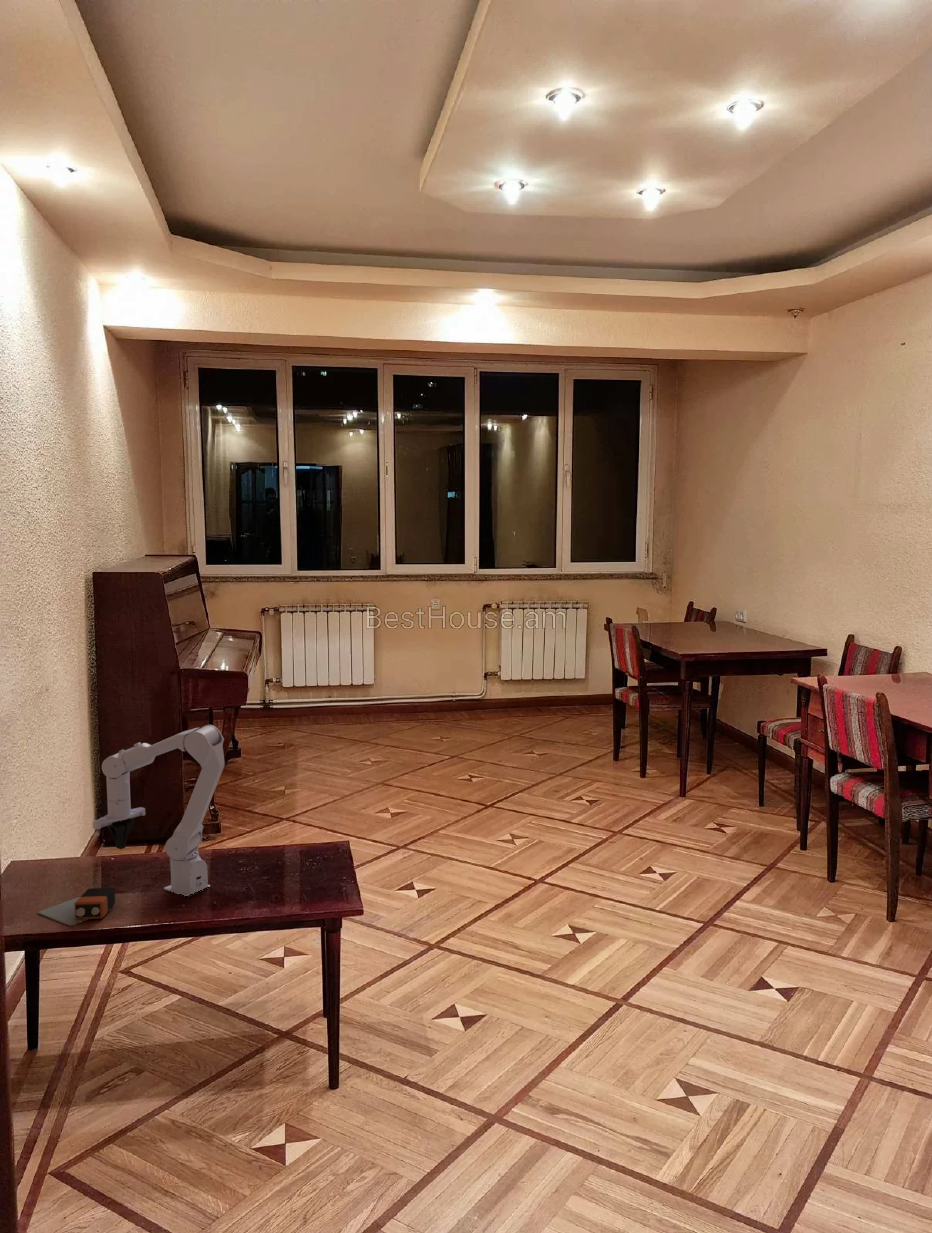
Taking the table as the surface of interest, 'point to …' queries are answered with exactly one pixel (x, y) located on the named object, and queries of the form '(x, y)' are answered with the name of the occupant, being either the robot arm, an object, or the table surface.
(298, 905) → the table surface
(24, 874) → the table surface
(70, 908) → the mat
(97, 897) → the battery
